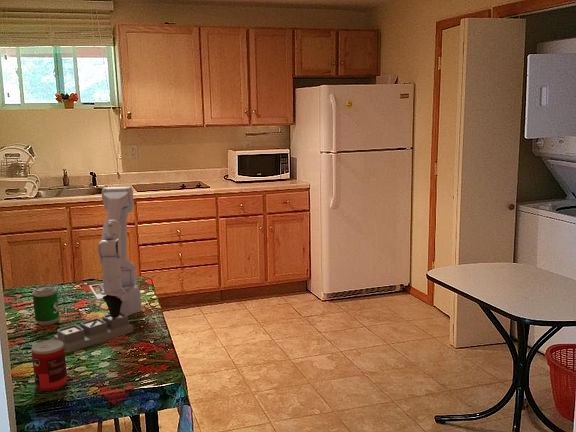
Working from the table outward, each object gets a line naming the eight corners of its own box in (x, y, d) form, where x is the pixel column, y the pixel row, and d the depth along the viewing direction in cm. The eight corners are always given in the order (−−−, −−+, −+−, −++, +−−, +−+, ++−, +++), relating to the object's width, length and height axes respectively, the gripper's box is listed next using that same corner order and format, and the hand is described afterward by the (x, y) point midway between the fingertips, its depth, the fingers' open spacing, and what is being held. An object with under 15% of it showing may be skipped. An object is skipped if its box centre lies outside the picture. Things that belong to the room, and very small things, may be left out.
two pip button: (118, 319, 193) (117, 313, 193) (125, 322, 190) (124, 316, 190) (106, 323, 190) (105, 317, 190) (112, 326, 187) (112, 320, 187)
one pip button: (74, 332, 183) (74, 326, 183) (81, 336, 180) (80, 330, 180) (61, 336, 180) (60, 330, 180) (67, 340, 177) (66, 334, 177)
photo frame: (97, 298, 219) (89, 285, 234) (97, 301, 219) (89, 287, 234) (136, 291, 225) (126, 279, 241) (137, 294, 225) (126, 281, 241)
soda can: (51, 327, 194) (47, 292, 191) (30, 325, 195) (27, 291, 193) (64, 318, 201) (61, 285, 199) (44, 317, 202) (40, 284, 200)
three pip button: (97, 325, 188) (96, 319, 188) (103, 329, 185) (103, 323, 185) (84, 329, 185) (83, 323, 185) (90, 333, 182) (90, 327, 182)
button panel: (116, 322, 197) (115, 309, 196) (133, 331, 189) (132, 317, 188) (54, 341, 182) (52, 327, 181) (70, 352, 175) (69, 337, 174)
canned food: (40, 378, 159) (36, 340, 156) (71, 376, 159) (67, 338, 157) (31, 392, 151) (26, 352, 149) (63, 390, 152) (59, 350, 150)
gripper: (89, 274, 189) (92, 314, 192) (111, 284, 179) (115, 326, 182) (109, 269, 194) (112, 308, 197) (132, 278, 184) (135, 319, 187)
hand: (115, 316), depth 190 cm, fingers closed
